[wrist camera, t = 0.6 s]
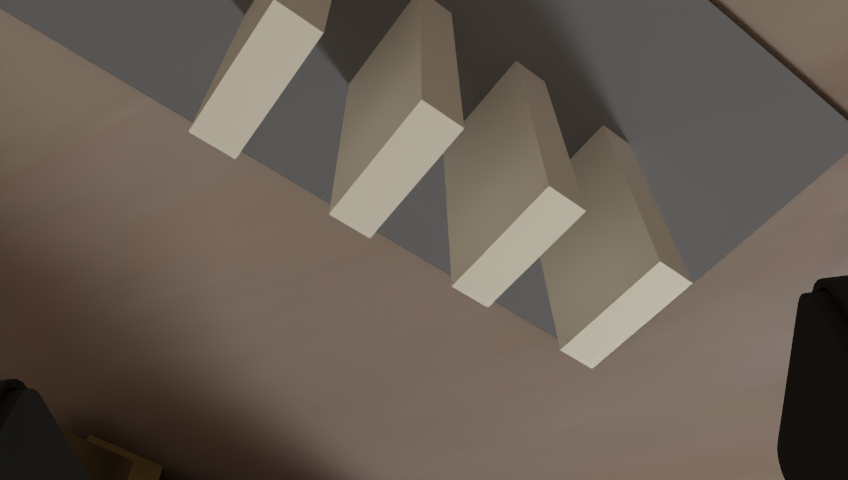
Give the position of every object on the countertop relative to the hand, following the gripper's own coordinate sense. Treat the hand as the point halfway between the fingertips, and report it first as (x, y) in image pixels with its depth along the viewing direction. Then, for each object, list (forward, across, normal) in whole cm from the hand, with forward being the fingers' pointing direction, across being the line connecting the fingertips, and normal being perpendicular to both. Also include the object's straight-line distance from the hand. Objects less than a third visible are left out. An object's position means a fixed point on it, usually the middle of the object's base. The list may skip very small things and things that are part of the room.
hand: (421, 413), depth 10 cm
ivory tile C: (+25, +1, +5) cm, 25 cm away
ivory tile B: (+25, -2, +8) cm, 26 cm away
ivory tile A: (+25, -6, +12) cm, 28 cm away
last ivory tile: (+25, +5, +1) cm, 25 cm away
